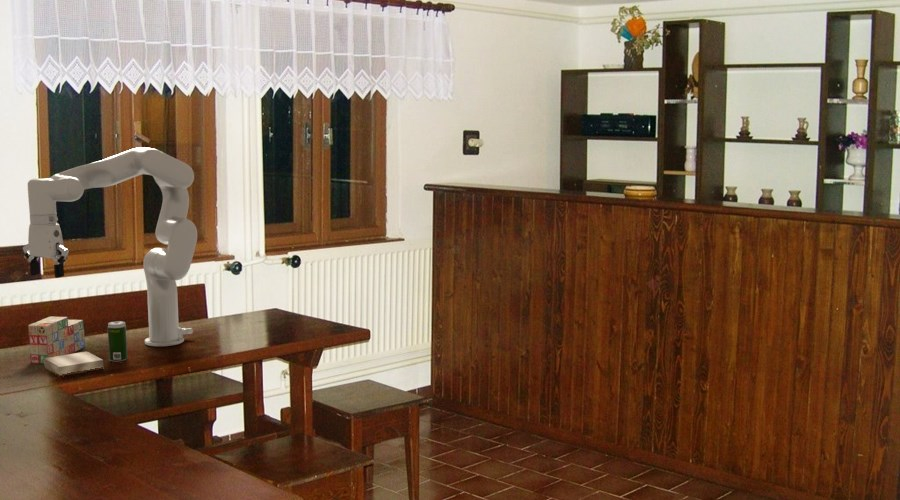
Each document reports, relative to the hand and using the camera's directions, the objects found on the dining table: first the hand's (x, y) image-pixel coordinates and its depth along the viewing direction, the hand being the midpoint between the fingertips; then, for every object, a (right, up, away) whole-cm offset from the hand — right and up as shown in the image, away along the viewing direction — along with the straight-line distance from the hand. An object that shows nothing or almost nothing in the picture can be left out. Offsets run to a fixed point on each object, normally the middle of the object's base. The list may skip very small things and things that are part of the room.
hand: (47, 275), depth 316 cm
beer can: (+19, -27, +8) cm, 34 cm away
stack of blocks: (-2, -26, +15) cm, 30 cm away
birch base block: (+8, -28, -1) cm, 29 cm away
